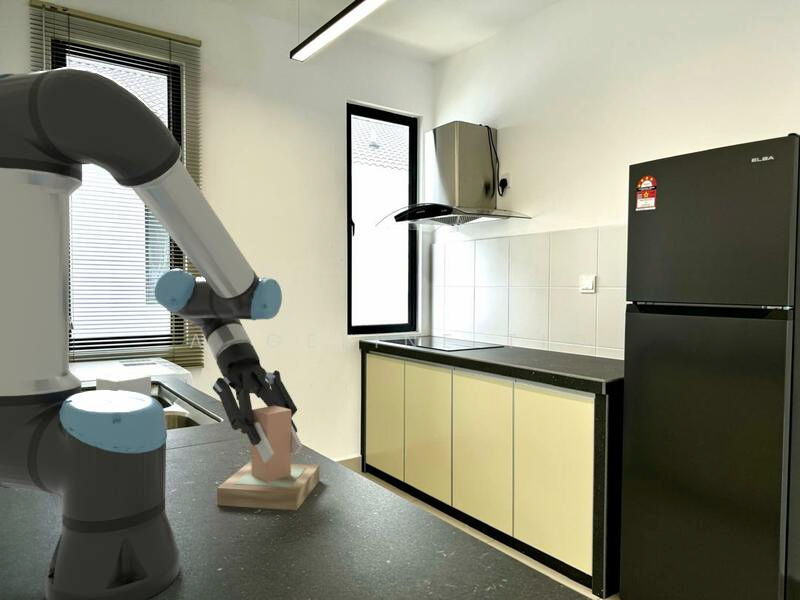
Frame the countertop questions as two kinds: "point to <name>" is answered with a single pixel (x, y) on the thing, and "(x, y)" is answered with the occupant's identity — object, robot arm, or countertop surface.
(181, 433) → the countertop surface
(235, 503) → the oak picture frame
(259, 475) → the tall block
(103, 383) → the supplement box
